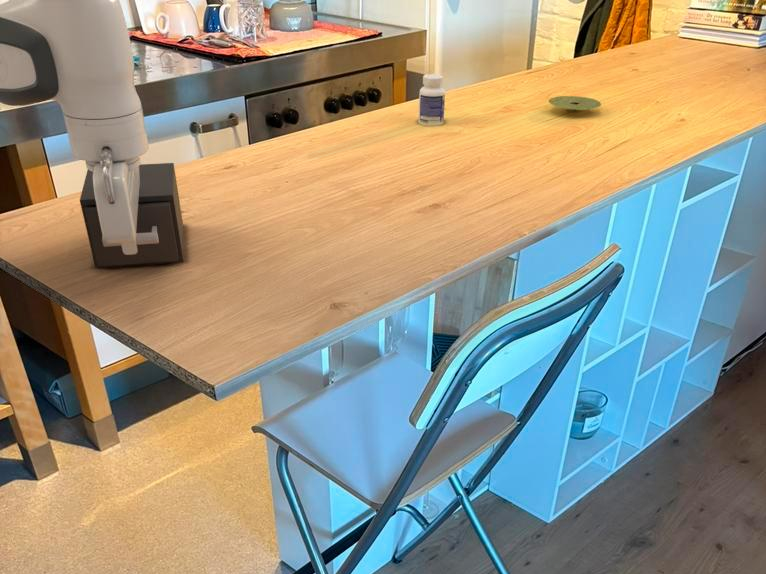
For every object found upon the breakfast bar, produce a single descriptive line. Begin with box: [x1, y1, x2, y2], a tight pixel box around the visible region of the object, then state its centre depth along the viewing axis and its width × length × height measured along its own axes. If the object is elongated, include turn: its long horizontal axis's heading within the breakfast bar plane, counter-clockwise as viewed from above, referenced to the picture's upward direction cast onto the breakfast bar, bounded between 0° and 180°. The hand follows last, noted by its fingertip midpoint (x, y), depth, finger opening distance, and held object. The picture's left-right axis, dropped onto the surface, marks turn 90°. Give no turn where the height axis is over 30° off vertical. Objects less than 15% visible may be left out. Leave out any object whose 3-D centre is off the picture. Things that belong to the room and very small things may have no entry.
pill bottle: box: [418, 73, 446, 127], centre depth 166 cm, size 5×5×9 cm
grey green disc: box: [548, 95, 602, 113], centre depth 177 cm, size 11×11×2 cm
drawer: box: [85, 201, 178, 266], centre depth 113 cm, size 17×11×8 cm, turn 11°
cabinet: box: [79, 162, 185, 269], centre depth 116 cm, size 14×12×10 cm
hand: (131, 250), depth 104 cm, fingers closed
